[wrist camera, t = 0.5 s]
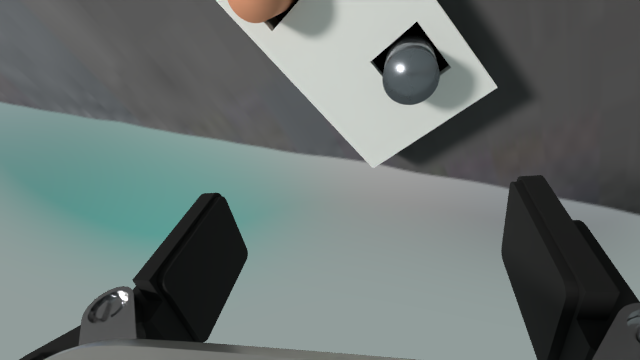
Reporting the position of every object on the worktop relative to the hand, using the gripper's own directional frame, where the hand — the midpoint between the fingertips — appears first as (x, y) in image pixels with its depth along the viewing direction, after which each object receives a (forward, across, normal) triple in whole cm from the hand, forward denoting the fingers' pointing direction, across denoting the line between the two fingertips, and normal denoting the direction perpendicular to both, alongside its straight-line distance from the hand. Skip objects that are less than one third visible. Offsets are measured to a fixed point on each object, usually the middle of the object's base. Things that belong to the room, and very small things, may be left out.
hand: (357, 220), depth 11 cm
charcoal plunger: (+24, -2, +1) cm, 24 cm away
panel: (+29, +3, -3) cm, 29 cm away
